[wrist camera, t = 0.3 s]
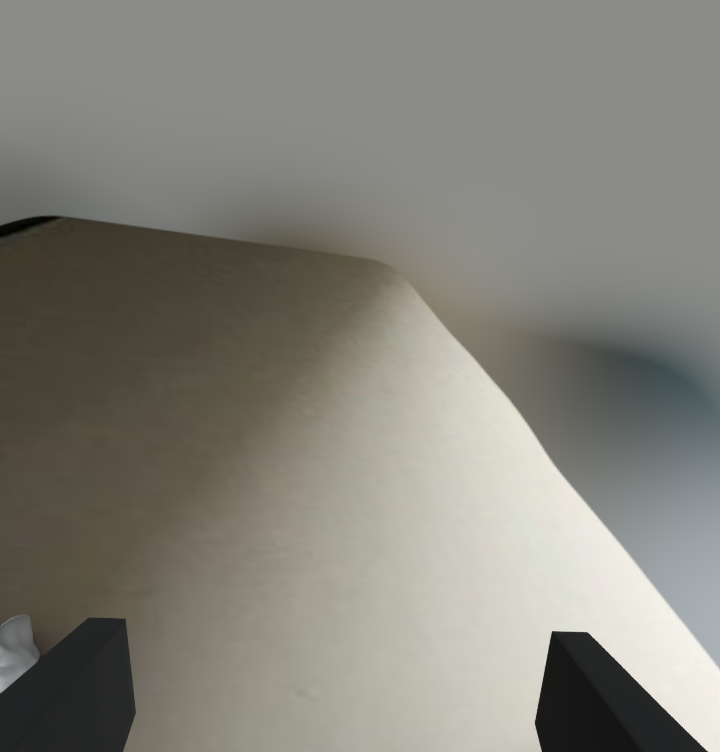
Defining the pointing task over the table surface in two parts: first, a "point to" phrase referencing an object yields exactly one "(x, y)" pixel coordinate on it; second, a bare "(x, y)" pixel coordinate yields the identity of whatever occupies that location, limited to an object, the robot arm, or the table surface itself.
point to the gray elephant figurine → (16, 649)
